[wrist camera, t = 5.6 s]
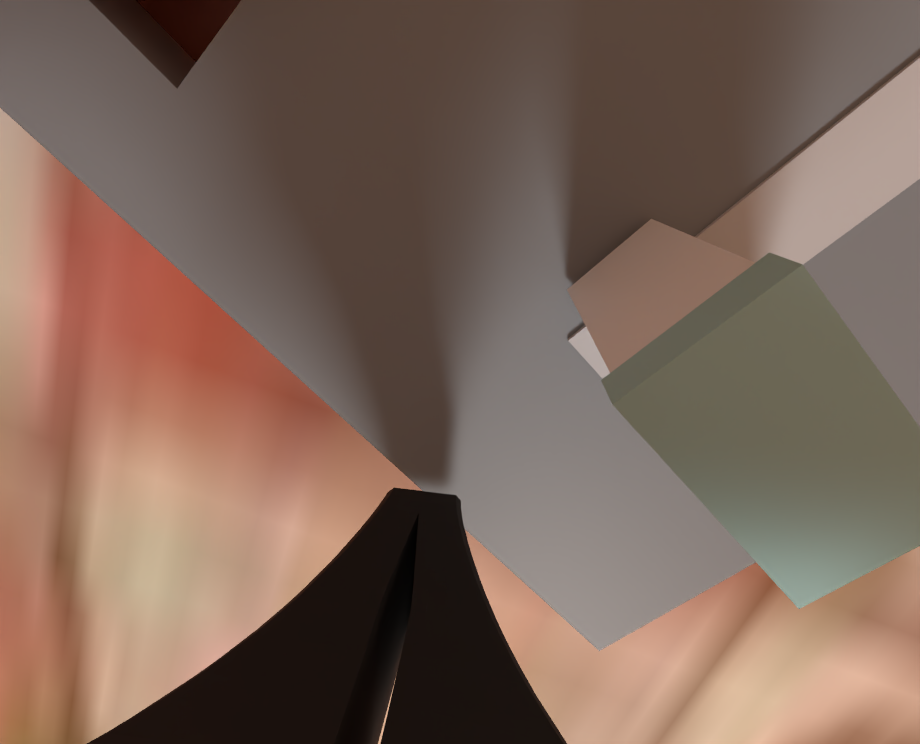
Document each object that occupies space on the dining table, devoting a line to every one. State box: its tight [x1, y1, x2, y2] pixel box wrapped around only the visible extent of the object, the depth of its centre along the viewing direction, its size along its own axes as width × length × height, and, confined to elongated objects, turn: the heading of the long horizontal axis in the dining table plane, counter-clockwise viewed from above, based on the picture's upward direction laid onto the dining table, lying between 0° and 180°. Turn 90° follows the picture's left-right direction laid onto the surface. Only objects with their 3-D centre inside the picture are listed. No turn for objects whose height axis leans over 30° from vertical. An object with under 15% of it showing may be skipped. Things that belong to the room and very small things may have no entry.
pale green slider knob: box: [567, 219, 920, 609], centre depth 7 cm, size 3×2×5 cm, turn 43°
